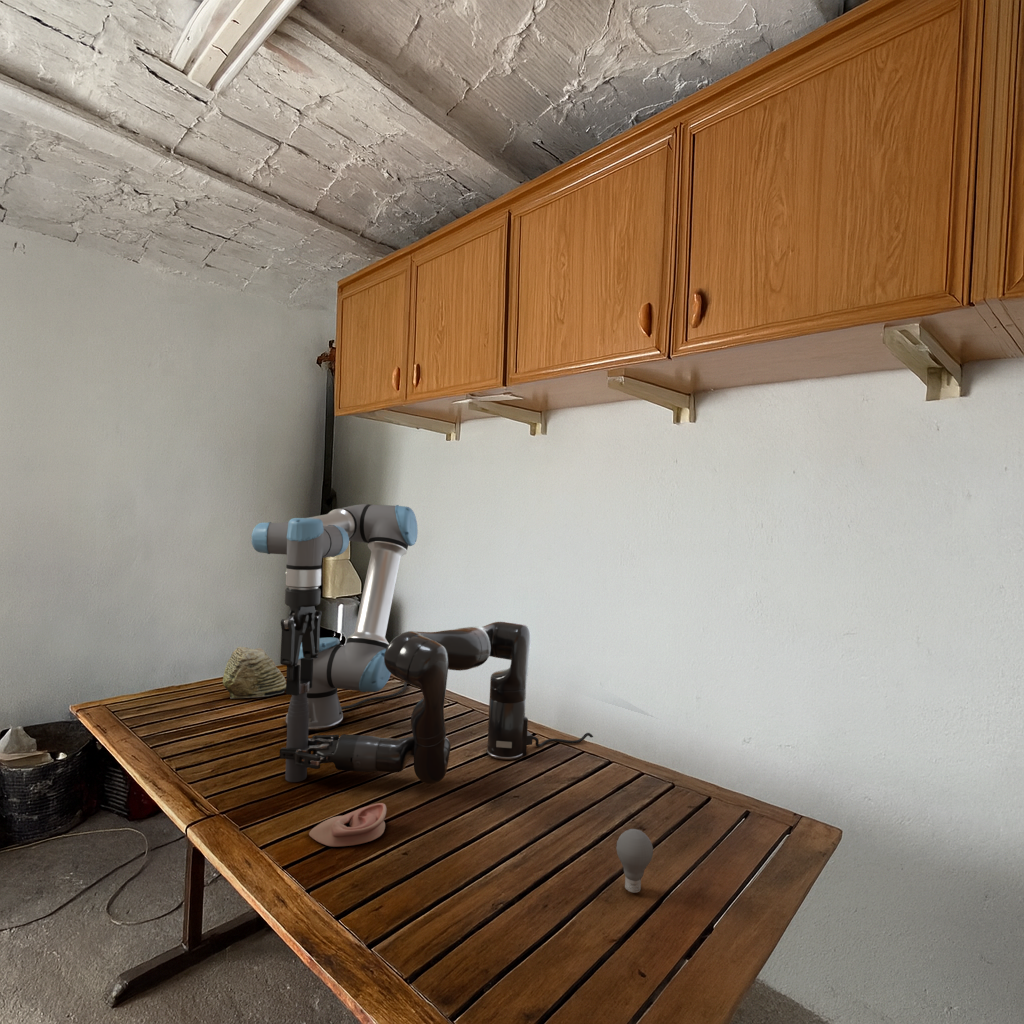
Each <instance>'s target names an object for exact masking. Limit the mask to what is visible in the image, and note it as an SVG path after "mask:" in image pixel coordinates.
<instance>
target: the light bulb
mask: <svg viewBox="0 0 1024 1024" xmlns="http://www.w3.org/2000/svg"><path fill="white" fill-rule="evenodd" d="M615 849H616V854H617V857H618V859H619V861H620V863H621V865H622V867H623V873H624V874H623V875H624V876H625V878H624V888H625V890H627V891H628V892H630V893H634V894H635V893H639V892H640V891H641V889H642V887H641V886H642V879H643V877H644V875H645V871H646V868H647V867H648V866H649V864H650V863H651V861H652V859H653V855H654V847H653V843H652V841H651V838H649V836H648V835H647V834H646V833H645V832H643V831H642V830H641V829H636V828H629V829H627V830H625V831H623V832H622V833H621V834H620V835H619V837H618V839H617V841H616V847H615Z"/></svg>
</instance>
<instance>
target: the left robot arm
mask: <svg viewBox="0 0 1024 1024" xmlns="http://www.w3.org/2000/svg"><path fill="white" fill-rule="evenodd" d="M418 531H419V530H418V521H417V516H416V514H415V512H414V510H413V508H411V507H409V506H405V505H399V504H395V505H391V504H390V505H389V504H369V503H362V504H361V503H360V504H354V505H349V506H345V507H339V508H335V509H332V510H330V511H329V512H328V513H326V514H321V515H315V516H310V517H294V518H293V517H292V518H290V519H289V520H287V521H281V522H272V521H268V522H259V523H257V524H256V525H255V526H254V527H253V530H252V532H251V545H252V547H253V549H254V550H255V551H256V552H257V553H261V554H267V555H270V554H271V555H272V554H273V555H286V566H285V568H286V570H285V586H286V588H285V590H284V594H285V595H284V604H285V605H286V606H288V607H289V612H288V616H287V618H285V619H284V618H283V619H281V620H280V628H281V637H280V639H281V640H280V641H281V642H280V658H279V659H280V660H279V661H280V662H279V663H280V665H282V666H286V676H285V680H286V690H285V695H290V696H292V695H296V696H297V695H299V679H308V680H310V689H309V691H308V692H307V696H306V697H307V701H308V708H309V730H308V733H316V732H325V731H329V730H332V729H335V728H337V727H339V726H340V725H342V723H343V722H344V714H343V710H348V709H352V708H356V707H357V706H360V705H362V704H364V703H368V702H371V701H377V700H383V699H390V698H394V697H396V696H398V695H401V694H402V693H403V692H404V691H406V689H407V684H408V683H407V682H405V681H403V682H404V683H403V687H402V688H401V689H400V690H398V691H396V692H394V693H391V694H386V695H380V696H379V695H378V696H373V697H368V698H365V699H362V700H360V701H357V702H354V703H352V704H348V705H343V706H341V702H340V699H339V695H338V689H339V690H347V691H357V692H361V693H377V692H380V691H381V690H382V689H384V687H385V686H386V685H387V684H388V682H389V680H390V677H391V675H392V674H391V673H390V672H389V671H388V669H387V668H386V666H385V662H384V655H385V651H386V649H387V647H388V645H389V644H390V642H388V640H387V638H386V634H387V629H388V625H389V619H390V614H391V610H392V609H391V608H392V604H393V599H394V593H395V588H396V583H397V578H398V574H399V573H398V572H399V568H400V563H401V558H402V557H404V556H405V555H406V554H407V553H408V548H409V547H412V546H414V545H415V544H416V542H417V540H418V533H419V532H418ZM350 542H356V543H365V544H367V548H368V550H370V557H369V562H368V567H367V571H366V576H365V581H364V585H363V589H362V594H361V599H360V604H359V608H358V613H357V618H356V623H355V628H354V632H353V633H352V634H350V635H349V636H347V638H346V642H345V644H340V643H341V641H340V639H339V638H338V637H334V636H333V637H321V620H322V619H321V618H322V614H323V613H322V612H323V611H322V610H316V607H317V606H318V605H320V604H321V593H322V592H321V590H322V589H321V588H320V586H322V564H323V563H322V561H323V559H325V558H335V557H337V556H340V555H342V554H344V553H345V552H346V550H347V549H348V548H349V543H350ZM287 718H288V712H287V713H286V715H285V726H286V727H287Z"/></svg>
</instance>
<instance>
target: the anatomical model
mask: <svg viewBox="0 0 1024 1024" xmlns="http://www.w3.org/2000/svg"><path fill="white" fill-rule="evenodd" d="M386 816H387V805H386V804H385V803H383V802H378V803H373V804H370V805H368V806H364V807H360V808H358V809H355V810H353V811H351V812H348V813H346V814H344V815H343V814H342V815H337V816H333V817H331V818H328V819H326V820H323V821H322V822H320V823H318V824H317V825H315V826H314V827H313V828H311V830H309V832H308V835H309V837H310V838H311V839H313V840H315V841H316V842H318V843H319V844H321V845H325V846H327V847H333V848H335V847H348V846H349V847H350V846H357V845H361V844H365V843H368V842H372V841H374V840H376V839H378V838H380V837H381V836H382V835H383V834H384V832H385V829H386V822H385V819H386Z"/></svg>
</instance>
